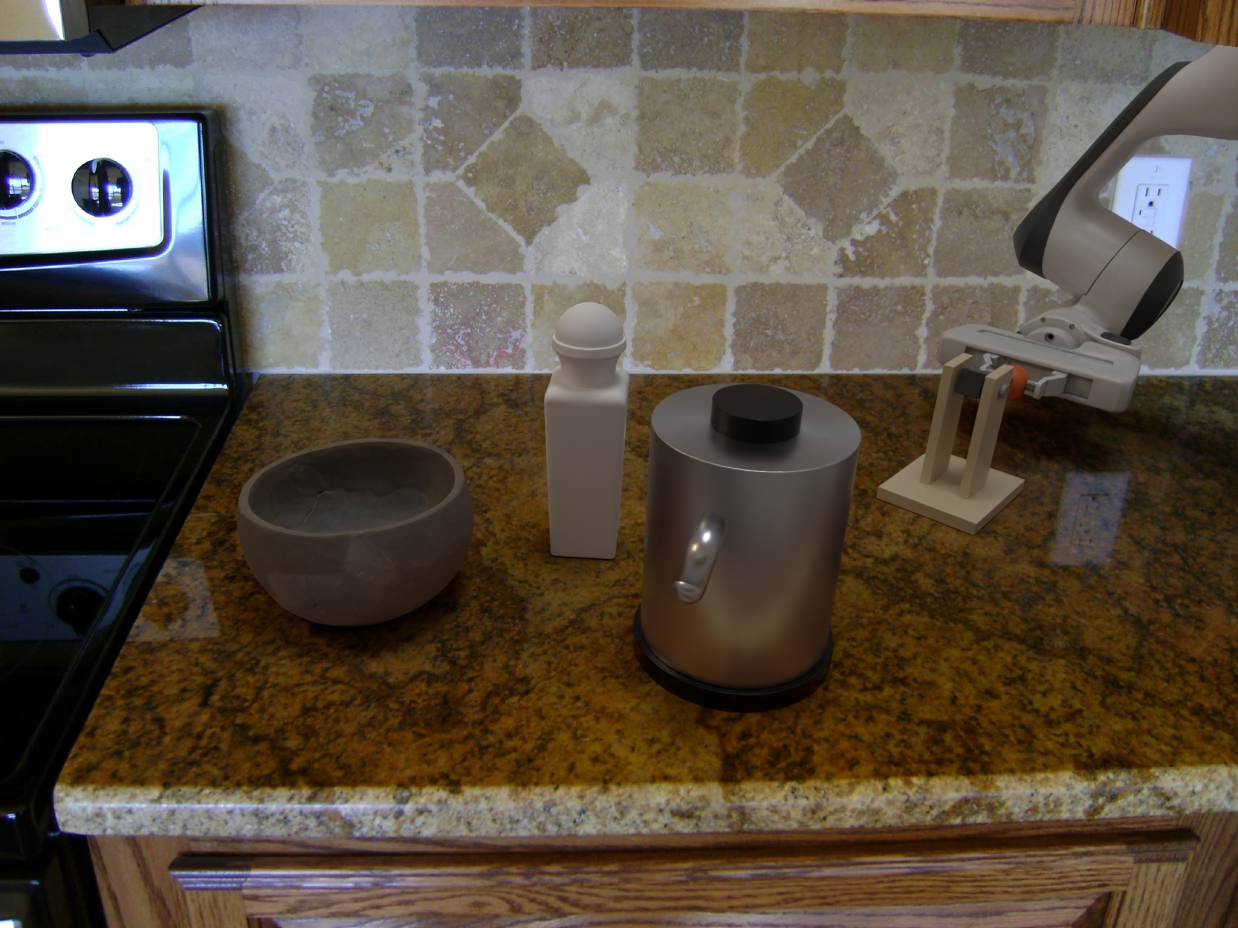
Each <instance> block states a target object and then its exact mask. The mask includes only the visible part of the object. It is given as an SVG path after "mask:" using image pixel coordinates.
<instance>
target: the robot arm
mask: <svg viewBox="0 0 1238 928" xmlns="http://www.w3.org/2000/svg"><path fill="white" fill-rule="evenodd" d="M1165 136H1192V137H1201V138H1208V139H1216V140H1225V141H1238V47H1232V46H1223V45H1218V44H1216V45H1215V46H1214V47H1212V49H1210V50H1209V51H1208V52H1206V53H1204V54H1202V56H1200V57H1198V58H1197V59H1195V60H1187V61H1186V60H1185V61H1177V62H1175V63H1172V64H1171V65H1170V66H1168V67H1166V68H1165V69H1164V70H1163V71H1161V72H1160V73H1158V75H1157V76H1155V77H1154V78H1153V79H1152V80H1150V81H1149V82H1148V83H1147V84H1146V86H1144V87H1143V88H1142V89H1141V91H1140V92H1138V94H1137V95H1136V96H1134V98H1133V99H1132V100H1131V101H1130V102H1129V103H1128V104H1127V105H1126V106H1125V107H1124V108H1123V110H1121V112H1120V113H1118V115H1117V116H1116V117H1115V118H1114V119H1113V120H1112V121H1111V123H1109V125H1108V126H1107V127H1106V128H1105V129H1104V130H1103V131H1102V133H1100V134H1099V136H1098V137H1097V138H1096V139H1095V140H1094V141H1093V143H1092V144H1091V145H1090V146H1089V147H1088V148H1087V149H1086V150H1085V152H1084V153H1082V155H1081V156H1080V157H1079V158H1078V160H1076V161H1075V163H1074V164H1073V165H1072V166H1071V168H1069V170H1068V171H1067V172H1066V173H1065V174H1064V175H1063V176H1062V177H1061V178H1060V179H1059V181H1058V182H1056V184H1054V185H1053V187H1052V188H1051V189H1050V190H1049V191H1047V193H1046V194H1045V195H1044V196H1042V197H1041V198H1040V199H1038V200H1037V201H1036V202H1035V203H1034V204H1033V205H1032V206H1030V208H1028V210H1027V211H1026V212H1025V213H1024V214H1023V216H1022V217H1021V219H1020V221H1019V222H1018V224H1017V226H1016V228H1015V230H1014V232H1013V234H1012V243H1013V250H1014V253H1015V254H1014V255H1015V257H1016V260H1017V263H1018V265H1019V267H1020V268H1022V269H1025V270H1027V271H1028V272H1030V273H1032V274H1034V275H1036V276H1038V277H1040V278H1042V279H1044V280H1047V281H1050V282H1051V283H1052V284H1054V285H1055V286H1056V287H1059V288H1060V289H1062V290H1063V291H1065V292H1066V293H1068V294H1069V295H1071V296H1073V297H1070V298H1068V299H1066V300H1063V301H1061V302H1060V303H1057V304H1056V305H1054V306H1052V307H1051V308H1050V309H1048V310H1046V311H1044V312H1043V313H1041V314H1039V315H1037V316H1035V317H1034V318H1032V319H1030V320H1029V321H1027V322H1026V323H1024V324H1022V326H1020V327H1019V328H1018V329H1017V331H1016V332H1015V331H1010V330H1006V329H1003V328H999V327H994V326H990V325H986V324H980V323H966V324H961V325H957V326H955V327H951V328H948V329H946V330H945V331H943V332H942V333H941V334H940V337H939V340H938V343H937V349H936V354H935V355H936V360H937V361H938V363H939V364H941V365H943V366H944V364H946V363H947V362H949V361H951V360H952V359H954V358H956V357H957V356H959V355H961V354H962V353H966V354H969V355H973V358H972V363H971V367H970V368H975V369H979V370H982V371H986V372H989V373H992V372H993V371H995V370H996V369H998V368H999V367H1001V366H1002V365H1004V364H1006V365H1018V366H1020V367H1022V368H1024V369H1025V370H1026V371H1027V373H1028V374H1029V377H1030V379H1028V381H1027V383H1026V390H1024V395H1023V396H1024V397H1028V398H1031V399H1036V400H1040V399H1041V398H1043V397H1055V398H1060V399H1063V400H1067V401H1070V402H1074V403H1077V404H1081V405H1083V406H1084V405H1085V406H1087V407H1091V408H1095V409H1098V410H1102V411H1105V412H1109V413H1124V412H1125V411H1126V410H1127V409H1128V407H1129V406H1130V403H1131V401H1132V397H1133V394H1134V391H1135V388H1136V385H1137V382H1138V378H1139V375H1140V371H1141V368H1142V364H1141V359H1142V352H1143V346H1142V345H1141V344H1140V343H1138V342H1135V340H1138V339H1139V338H1140V337H1141V336H1143V335H1144V334H1145V333H1146V332H1147V331H1148V330H1150V329H1151V328H1152V327H1153V326H1154V325H1155V324H1156V323H1157V321H1159V319H1161V317H1162V316H1163V315H1164V314H1165V312H1166V311H1167V310H1168V309H1169V308H1170V307H1171V306H1172V303H1173V302H1174V301H1175V299H1176V298H1177V296H1178V294H1179V293H1180V291H1181V289H1182V287H1183V285H1184V279H1185V263H1184V258H1183V255H1182V252H1181V250H1178V249H1177V248H1175V247H1174V246H1172V245H1170V244H1169V243H1168V242H1166V241H1164V240H1163V239H1161V238H1160V237H1158V236H1156V235H1154V234H1152V233H1151V232H1150V231H1147V230H1146V229H1144V228H1141V227H1139V226H1137V225H1136V224H1134V223H1133V222H1131V221H1129V220H1127V219H1126V218H1124V217H1122V216H1121V215H1119V214H1117V213H1116V212H1114V211H1112V210H1111V209H1109V208H1107V207H1106V206H1105V205H1104V204H1102V202H1101V200H1100V193H1101V192H1102V190H1103V189H1104V188H1105V187H1106V186H1107V185H1108V184H1109V183H1110V182H1111V181H1112V180H1113V179H1114V178H1115V177H1116V176H1117V175H1118V174H1119V172H1120V171H1121V170H1123V169H1124V167H1125V166H1126V165H1127V164H1128V163H1129V162H1130V161H1131V160H1132V159H1133V157H1135V155H1136V154H1137V153H1138V152H1139V151H1140V150H1141V149H1142V148H1143V147H1144V146H1145V145H1146V144H1147V143H1148V142H1150V141H1151V140H1153V139H1156V138H1159V137H1165Z"/></svg>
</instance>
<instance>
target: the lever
mask: <svg viewBox="0 0 1238 928" xmlns="http://www.w3.org/2000/svg"><path fill="white" fill-rule="evenodd" d="M1009 366H1013V367H1014V371H1013V375H1012V379H1011V383H1010V390H1009V393H1008V395H1007V399H1006V400H1011V401H1013V400H1017V399H1020V398H1021V397H1023V396H1024V390H1026V383H1027V381H1028V379H1030V377H1029V374H1028V373H1027V371H1026V370H1025V369H1024V368H1022V367H1020V366H1018V365H1009ZM989 374H990V373H989V372H986V371H982V370H979V369H975V368H963V369H962V372H961V375H960V378H959V382H958V385H957V388H956V391H955V393H958V394H962V395H964V397H969V398H972V399H975V400H980V399H981V394H982V390H983V386H984V381H985V377H986V376H987V375H989Z"/></svg>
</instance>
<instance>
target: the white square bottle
mask: <svg viewBox="0 0 1238 928" xmlns="http://www.w3.org/2000/svg"><path fill="white" fill-rule="evenodd" d="M551 348H552V350H553V351H554V352H555V353H556V355H557V356H558V358H559V361H560V365H559V364H558V365H557V366H555V367H554V368H553V370H552V372H551V377H550V381H549V383H548V385H547V389H546V391H545V394H544V397H543V402H544V403H543V407H544V408H543V410H544V429H545V431H544V432H545V434H544V435H545V449H546V450H545V454H546V455H545V456H546V476H547V477H546V478H547V499H548V501H547V502H548V522H549V523H548V524H549V525H548V526H549V545H550V547H549V548H550V554H551V556H553V557H569V558H570V557H571V558H585V559H602V560H613V559H615V558H616V553H617V546H618V545H617V544H618V536H619V528H620V518H621V517H620V515H621V502H622V489H623V488H622V487H623V475H624V474H623V473H624V463H625V461H624V460H625V448H626V436H627V435H626V433H627V421H628V420H627V418H628V408H629V407H628V404H629V391H630V377H631V375H630V373H629V371H628V370H626V369H625V368H622V367H617V363H618V360H619V359H620V357H621V355H622V354H623V353H624V352H625V351H626V349H627V339H626V336H625V334H624V330H623V326H622V324H621V322H620V319H619V317H618V316H617V315H616V313H615V312H614V311H612V310H611V309H610V308H609V307H607V306H606V305H604V304H602V303H598V302H593V301H586V302H579V303H577V304H574V305H572V306H571V307H569V308H568V309H566V310H565V311H564V312H563V314H562V315H561V316H560V318H559V319H558V322H557V323H556V327H555V332H554V333H553V334H552V337H551Z"/></svg>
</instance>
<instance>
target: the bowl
mask: <svg viewBox="0 0 1238 928" xmlns="http://www.w3.org/2000/svg"><path fill="white" fill-rule="evenodd" d="M464 472H465V471H464V469H463V467H462V465H461V463H460V462H459V461H458V460H457V459H456V458H455V457H454V456H453V455H451V454H450V453H448V452H447V451H446V450H445V449H441V448H440V447H438V446H436V445H433V444H430V443H427V442H425V441H420V440H416V439H415V440H414V439H405V438H398V437H397V438H395V437H393V438H392V437H386V438H381V437H364V438H353V439H347V440H340V441H335V442H330V443H325V444H321V445H316V446H312V447H309V448H306V449H303V450H300V451H296V452H294V453H291V454H288V455H285V456H284V457H281V458H279V459H278V460H275V461H273V462H271V463H269V464H267V465H266V466H264V467H263V468H261V469H260V470H259V471H257V472H256V473H254V474H253V475H252V476H251V477H250V478H249V479H248V480H247V481H246V482H245V483H244V485H243V487H242V488H241V491H240V494H239V497H238V502H237V506H236V507H237V508H236V509H237V511H236V526H237V527H236V528H237V535H238V540H239V544H240V548H241V550H242V554H243V557H244V559H245V562H246V564H247V566H248V568H249V571H250V572H251V574H252V575H253V576H254V578H255V579H256V580H257V582H258V583H259V584H260V585H261V587H262V588H263V589H264V590H265V591H266V592H267V593H268V594H269V595H270V597H271V598H272V599H273V600H274V601H275V602H276V603H277V604H278V605H279V606H280V607H281V608H283V610H285V611H287V612H289V613H291V614H293V615H295V616H297V617H298V618H302V619H304V620H307V621H309V622H313V623H316V624H319V625H328V626H333V627H334V626H335V627H339V626H340V627H359V626H360V627H361V626H372V625H377V624H380V623H384V622H388V621H391V620H394V619H397V618H399V617H402V616H405V615H406V614H409V613H411V612H414V611H415V610H417V609H419V608H421V607H422V606H424V605H425V604H426V603H428V602H430V601H431V600H432V599H433V598H435V597H436V596H438V595H439V594H440V593H441V592H442V591H443V590H444V589H445V588H446V587H447V586H448V584H450V582H452V580H453V579H454V578H455V577H456V575H457V573H458V571H459V570H460V569H461V567H462V565H463V564H464V561H465V559H466V558H467V557H466V556H467V555H468V552H469V549H470V546H471V542H472V538H473V533H474V527H475V518H474V517H475V509H474V502H473V497H472V493H471V489H470V486H469V483H468V479H467V478H466V475H465V473H464Z"/></svg>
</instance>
